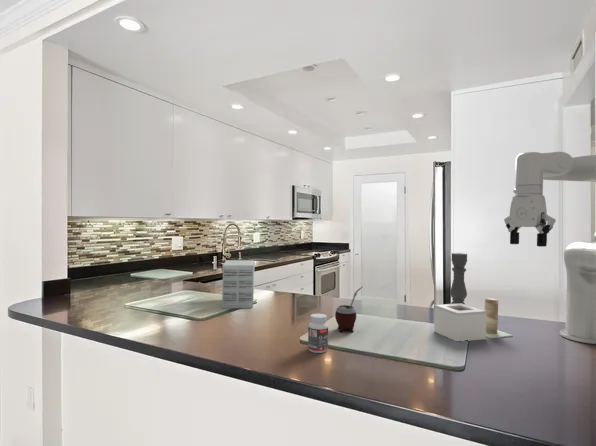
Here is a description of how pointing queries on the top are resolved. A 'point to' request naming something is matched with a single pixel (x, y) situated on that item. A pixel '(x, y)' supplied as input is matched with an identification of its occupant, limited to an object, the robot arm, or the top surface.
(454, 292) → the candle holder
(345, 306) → the mate gourd
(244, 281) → the supplement box
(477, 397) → the top surface
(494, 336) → the pad
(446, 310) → the box
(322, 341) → the pill bottle
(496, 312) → the wooden cylinder
